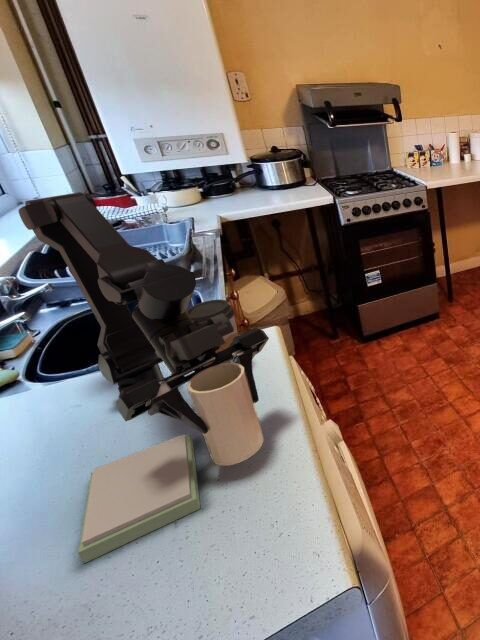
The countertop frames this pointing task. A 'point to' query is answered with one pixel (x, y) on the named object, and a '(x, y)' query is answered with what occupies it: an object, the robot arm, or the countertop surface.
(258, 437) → the cream cup
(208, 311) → the coffee cup
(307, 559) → the countertop surface
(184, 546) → the countertop surface
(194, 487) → the kitchen scale
